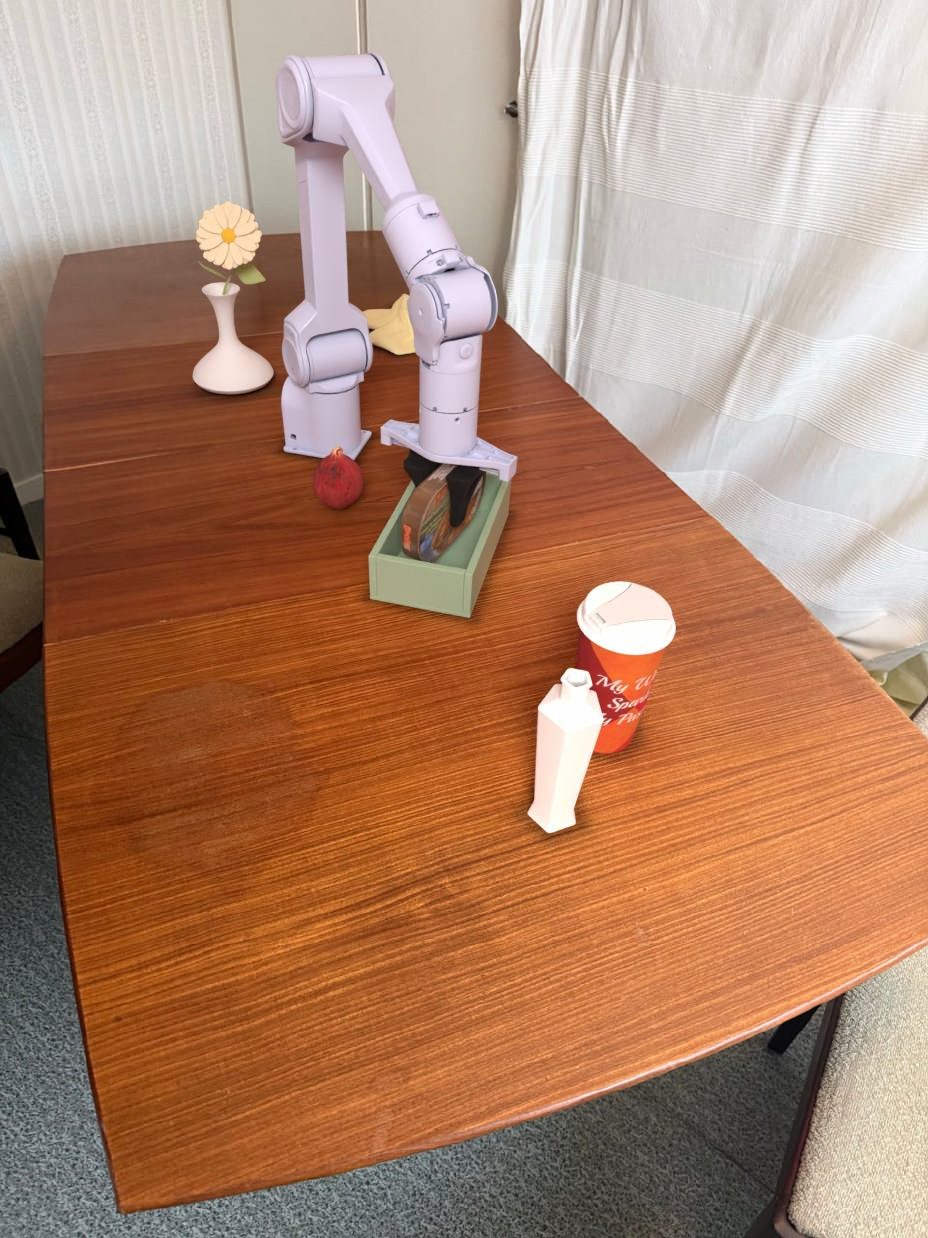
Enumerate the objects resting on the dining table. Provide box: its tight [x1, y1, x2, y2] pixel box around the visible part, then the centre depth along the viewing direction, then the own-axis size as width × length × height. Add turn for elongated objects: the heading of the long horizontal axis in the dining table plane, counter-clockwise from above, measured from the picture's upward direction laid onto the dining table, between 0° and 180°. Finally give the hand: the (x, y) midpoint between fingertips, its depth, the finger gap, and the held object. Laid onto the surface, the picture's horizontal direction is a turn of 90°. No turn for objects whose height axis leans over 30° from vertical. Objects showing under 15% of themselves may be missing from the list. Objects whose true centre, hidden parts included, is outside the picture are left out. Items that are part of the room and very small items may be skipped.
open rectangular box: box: [367, 472, 513, 619], centre depth 90 cm, size 11×20×6 cm, turn 166°
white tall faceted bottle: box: [526, 667, 603, 834], centre depth 61 cm, size 5×4×15 cm
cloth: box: [362, 293, 416, 356], centre depth 137 cm, size 22×19×6 cm
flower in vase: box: [191, 201, 275, 395], centre depth 113 cm, size 13×11×25 cm
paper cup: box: [574, 581, 677, 754], centre depth 69 cm, size 8×8×14 cm
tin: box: [401, 463, 486, 563], centre depth 87 cm, size 15×3×8 cm, turn 152°
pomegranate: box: [312, 446, 365, 511], centre depth 95 cm, size 6×6×8 cm
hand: (445, 518), depth 89 cm, fingers closed on tin, 2 cm apart
